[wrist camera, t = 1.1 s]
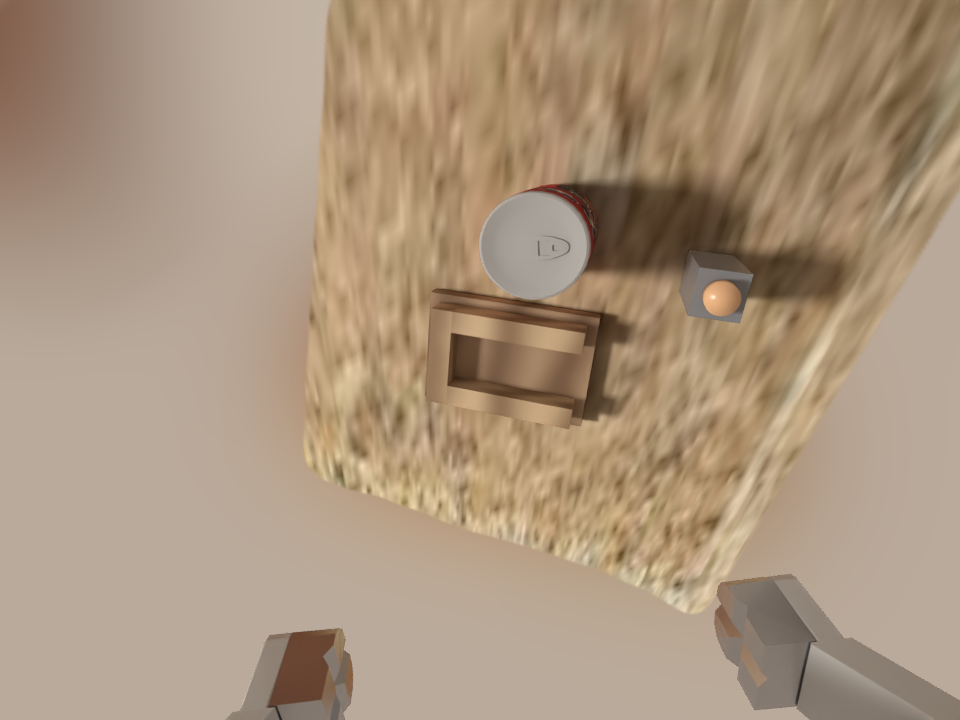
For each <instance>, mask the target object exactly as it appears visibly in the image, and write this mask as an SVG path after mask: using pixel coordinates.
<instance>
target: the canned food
mask: <svg viewBox="0 0 960 720" xmlns="http://www.w3.org/2000/svg"><path fill="white" fill-rule="evenodd" d="M597 236H598V220H597V216H596V213H595V210H594V209H593V207H592V205H591V203H590V202H589V201H588V200H587V199H586V198H585V196H583V195H582V194H581V193H579V192H578V191H576V190H574V189H572V188H570V187H567V186H562V185H545V186H540V187H537V188H533V189H530V190H527V191H524V192H521V193H518V194H516V195H513V196H511V197H509V198H508V199H506V200H504V201H503V202H501V203H500V204H499V205H498V206H497V207H496V208H495V209H494V210H493V211H492V212H491V214H490V215H489V216H488V218H487V219H486V221H485V223H484V226H483V228H482V231H481V235H480V240H479V251H480V257H481V261H482V264H483V266H484V269H485V271H486V272H487V274H488V276H489V277H490V279H491V280H492V281H493V282H494V283H495V284H496V285H497V286H498V287H500V288H501V289H502V290H504V291H505V292H507V293H509V294H511V295H513V296H516V297H520V298H523V299H532V300H537V299H546V298H549V297H553V296H556V295H558V294H560V293H562V292H564V291H565V290H567V289H568V288H569V287H570V286H572V285H573V284H574V283H575V282H576V281H577V280H578V279H579V277H580V276H581V275H582V273H583V272H584V270H585V268H586V266H587V264H588V262H589V260H590V257H591V254H592V251H593V249H594V246H595V243H596V240H597Z"/></svg>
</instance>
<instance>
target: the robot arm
mask: <svg viewBox="0 0 960 720" xmlns="http://www.w3.org/2000/svg"><path fill="white" fill-rule="evenodd" d="M717 597H718V599H719V601H720V602H721V605H720V606H719V607H718V608H717V609H716V611H715V620H714V624H715V629H716V635H717V638H718V641H719V643H720V646H721V648H722V650H723V652H724V654H725V656H726V658H727V659H729V660H730V661H731V662H733V663H734V664H735V665H737V666H738V667H739V671H738V681H739V682H740V684H741V686H742V688H743V690H744V692H745V694H746V695H747V697H748V699H749V700H750V703H751V705H752V706H753V708H754V710H761V709H772V708H783V707H794V706H797V709H798V710H799V711H800V712H801V713H803V714H804V715H805V716H806V717H807V718H809V719H810V720H960V700H958V699H956V698H955V697H953V696H951V695H950V694H947V693H946V692H944V691H943V690H941V689H939V688H937V687H935V686H934V685H932V684H931V683H929V682H927V681H925V680H924V679H922V678H920V677H918V676H916V675H915V674H913V673H912V672H910V671H908V670H906V669H905V668H903V667H901V666H899V665H898V664H896V663H894V662H893V661H891V660H889V659H887V658H886V657H884V656H882V655H880V654H879V653H877V652H875V651H874V650H872V649H870V648H868V647H867V646H865V645H863V644H861V643H860V642H858V641H856V640H855V639H853V638H844V637H843V636H842V635H841V633H840V632H839V631H838V630H837V628H836V627H835V626H834V625H833V623H832V622H831V621H830V620H829V618H828V617H827V616H826V615H825V613H824V612H823V611H822V609H821V608H820V607H819V606H818V604H817V603H816V602H815V601H814V599H813V598H812V597H811V596H810V595H809V593H808V592H807V591H806V589H805V588H804V587H803V586H802V585H801V583H800V582H799V581H798V579H797V578H796V577H794V576H793V575H791V574H786V575H778V576H770V577H759V578H752V579H744V580H736V581H729V582H721V583H720V585H719V586H718V590H717ZM344 646H345V636H344V633H343V630H342V629H339V628H337V629H326V630H315V631H304V632H293V633H285V634H275V635H269V637H268V638H267V640H266V641H265V642H264V645H263V647H262V650H261V653H260V656H259V659H258V661H257V664H256V667H255V670H254V672H253V675H252V678H251V681H250V684H249V686H248V689H247V692H246V695H245V698H244V700H243V703H242V706H241V709H240V711H238V712H232V713H231V714H230V715H229V716H228V717H227V718H226V719H225V720H345V718H344V714H343V712H344V711H345V710H346V709H347V707H348V706H349V705H350V703H351V697H352V690H353V668H352V661H351V657H350V654H348V653H347V652H346V651H344Z"/></svg>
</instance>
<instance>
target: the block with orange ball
mask: <svg viewBox="0 0 960 720" xmlns="http://www.w3.org/2000/svg"><path fill="white" fill-rule="evenodd" d="M753 275H754V274H753V273H752V272H751V271H749V270H748V269H747V268H746V267H745V266H744V265H743V264H742V263H741V262H740V261H739V260H738V259H737V258H736V257H735V256H734V255H727V254H719V253H711V252H703V251H695V250H688V255H687V259H686V263H685V268H684V272H683V276H682V280H681V285H680V289H679V292H680V295H681V298H682V301H683V303H684V306H685V309H686V312H687V314H688V316H694V317H700V318H707V319H714V320H720V321H727V322H734V323H740V321H741V318H742V314H743V310H744V307H745V303H746V300H747V296H748V293H749V289H750V286H751V282H752V279H753Z"/></svg>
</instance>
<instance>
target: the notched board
mask: <svg viewBox="0 0 960 720" xmlns="http://www.w3.org/2000/svg"><path fill="white" fill-rule="evenodd" d="M600 317H601V314H598V313H591V312H585V311H578V310H572V309H565V308H559V307H552V306H546V305H539V304H533V303H526V302H520V301H513V300H507V299H500V298H494V297H487V296H481V295H474V294H468V293H461V292H455V291H448V290H442V289H435V290H433V291H432V292H431V298H430V317H429V335H428V354H427V373H426V392H425V396H427V400H426V401H431V402H436V403H441V404H446V405H451V406H456V407H461V408H466V409H471V410H476V411H481V412H486V413H491V414H496V415H501V416H506V417H511V418H516V419H521V420H526V421H531V422H536V423H541V424H546V425H551V426H556V427H561V428H566V429H569V427H570V424H571V425H576V426H581V423H582V417H583V411H584V406H585V400H586V395H587V389H588V384H589V378H590V372H591V367H592V361H593V356H594V350H595V344H596V339H597V333H598V328H599V322H600Z"/></svg>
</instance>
